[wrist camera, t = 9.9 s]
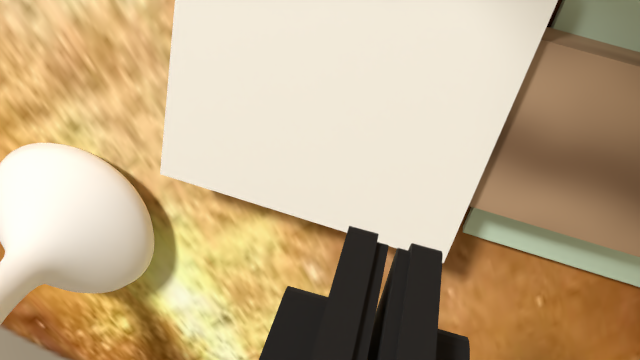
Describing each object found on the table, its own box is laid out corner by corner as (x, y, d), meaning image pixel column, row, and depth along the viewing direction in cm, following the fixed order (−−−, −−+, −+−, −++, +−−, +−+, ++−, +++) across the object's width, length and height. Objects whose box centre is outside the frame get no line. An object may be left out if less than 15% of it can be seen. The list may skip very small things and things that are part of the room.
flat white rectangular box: (222, -155, 27) (188, -153, 24) (564, -63, 26) (578, -47, 23) (189, 141, 36) (160, 173, 33) (446, 221, 35) (443, 263, 32)
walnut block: (533, 23, 28) (538, 38, 26) (728, 76, 27) (749, 97, 25) (468, 181, 33) (467, 205, 31) (631, 230, 32) (643, 258, 30)
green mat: (587, -57, 26) (589, -55, 26) (864, 19, 25) (872, 22, 25) (463, 226, 35) (462, 232, 34) (667, 289, 34) (670, 296, 33)
